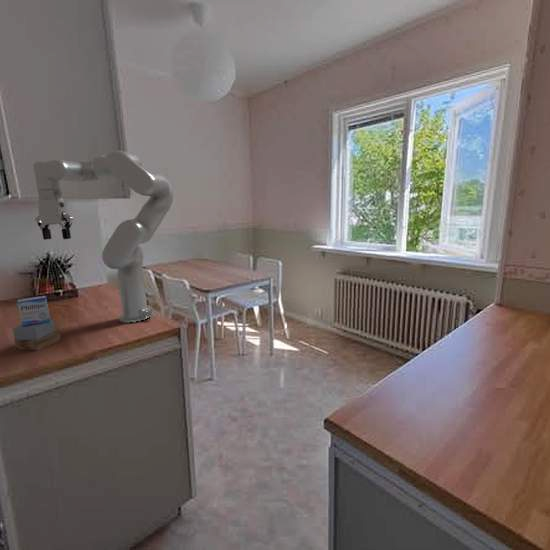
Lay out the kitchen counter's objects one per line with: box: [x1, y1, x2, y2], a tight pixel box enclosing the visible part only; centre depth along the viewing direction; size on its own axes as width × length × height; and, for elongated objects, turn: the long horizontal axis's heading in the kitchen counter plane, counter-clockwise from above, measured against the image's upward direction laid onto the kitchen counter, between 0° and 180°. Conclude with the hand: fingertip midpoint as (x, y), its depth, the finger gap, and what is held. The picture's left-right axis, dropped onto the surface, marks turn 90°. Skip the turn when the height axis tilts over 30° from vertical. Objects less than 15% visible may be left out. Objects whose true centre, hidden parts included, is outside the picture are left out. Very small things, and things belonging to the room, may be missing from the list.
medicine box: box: [17, 295, 51, 327], centre depth 114 cm, size 8×4×9 cm, turn 124°
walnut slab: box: [13, 329, 62, 351], centre depth 116 cm, size 9×9×4 cm
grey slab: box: [12, 319, 57, 340], centre depth 115 cm, size 8×8×4 cm
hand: (57, 239), depth 136 cm, fingers open, 9 cm apart
